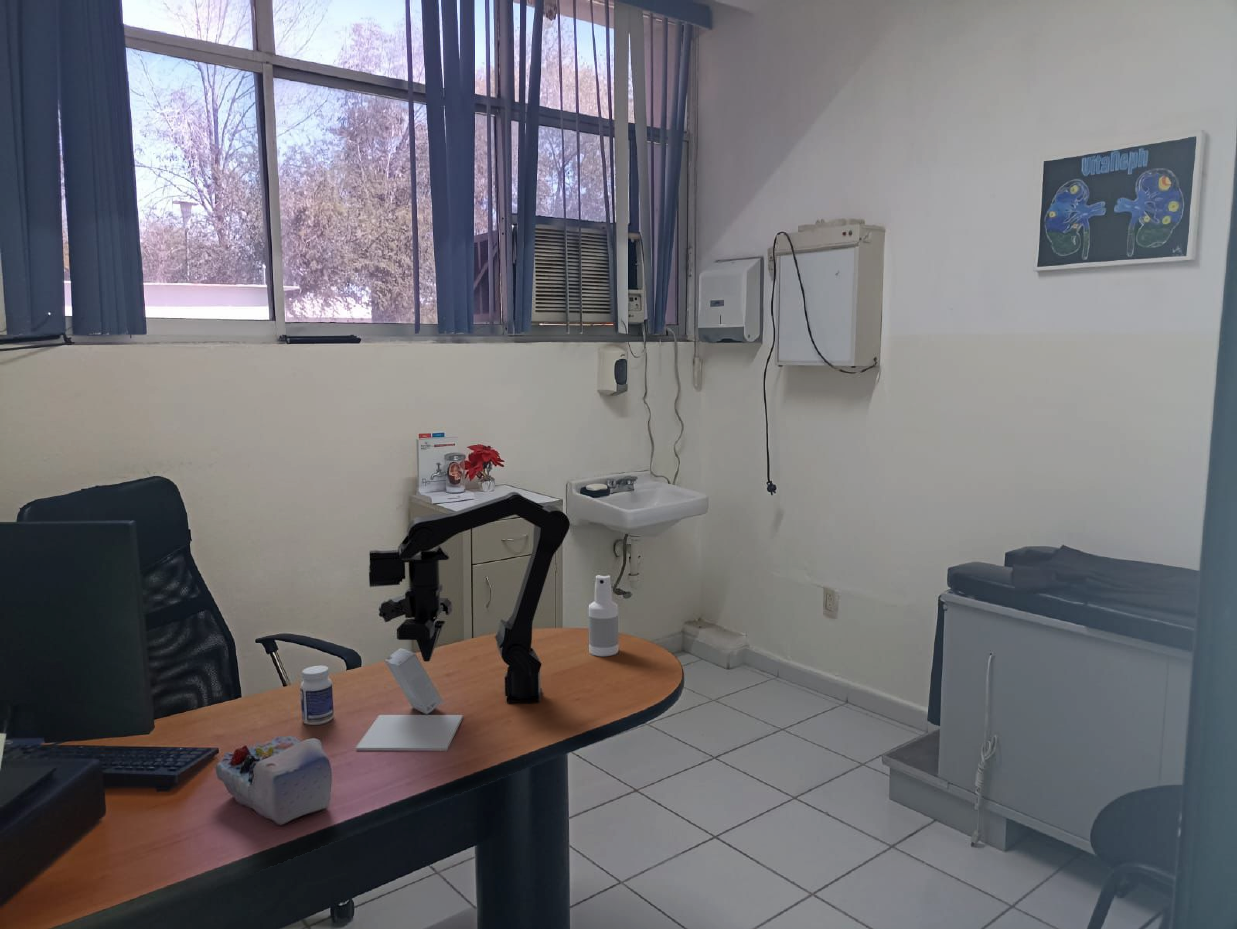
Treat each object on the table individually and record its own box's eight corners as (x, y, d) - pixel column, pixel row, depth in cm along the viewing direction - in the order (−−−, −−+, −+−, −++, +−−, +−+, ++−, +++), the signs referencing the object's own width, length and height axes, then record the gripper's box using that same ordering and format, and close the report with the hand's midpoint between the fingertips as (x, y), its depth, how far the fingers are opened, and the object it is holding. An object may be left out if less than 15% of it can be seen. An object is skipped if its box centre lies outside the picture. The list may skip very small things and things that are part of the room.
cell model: (268, 768, 123) (204, 733, 136) (274, 840, 124) (210, 798, 137) (349, 737, 133) (282, 706, 146) (354, 803, 134) (287, 768, 147)
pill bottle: (340, 716, 167) (337, 666, 166) (318, 728, 162) (315, 676, 160) (317, 711, 169) (314, 662, 168) (295, 723, 164) (292, 672, 163)
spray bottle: (586, 656, 199) (585, 579, 197) (592, 646, 206) (591, 572, 204) (615, 657, 198) (615, 580, 196) (620, 647, 205) (620, 573, 202)
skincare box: (444, 701, 169) (417, 652, 164) (425, 716, 166) (398, 666, 162) (428, 694, 173) (402, 645, 169) (410, 708, 171) (383, 659, 167)
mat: (462, 717, 166) (462, 715, 166) (446, 750, 152) (446, 747, 152) (379, 717, 166) (379, 715, 166) (355, 750, 152) (355, 747, 152)
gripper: (397, 570, 177) (399, 644, 179) (367, 595, 158) (370, 678, 160) (451, 571, 176) (453, 645, 178) (427, 596, 158) (430, 678, 160)
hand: (426, 661), depth 169 cm, fingers closed
